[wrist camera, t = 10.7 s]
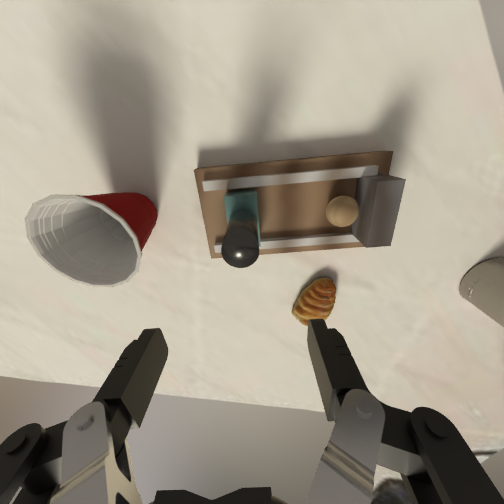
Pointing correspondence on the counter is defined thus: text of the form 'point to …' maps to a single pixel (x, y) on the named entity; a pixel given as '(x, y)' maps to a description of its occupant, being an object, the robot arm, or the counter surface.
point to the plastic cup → (92, 235)
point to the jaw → (241, 228)
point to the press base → (306, 201)
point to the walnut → (342, 211)
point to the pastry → (315, 301)
